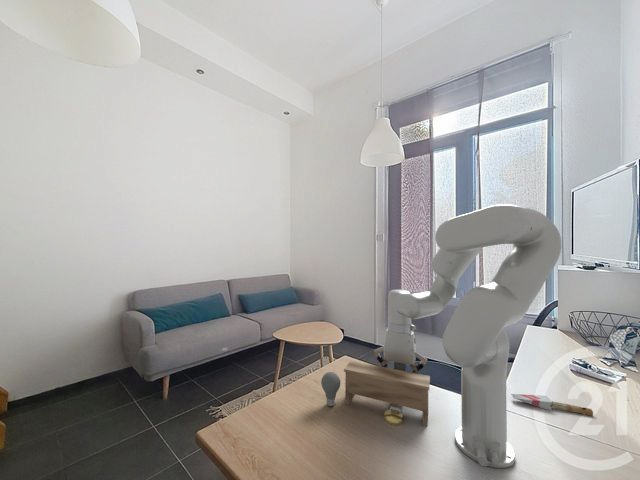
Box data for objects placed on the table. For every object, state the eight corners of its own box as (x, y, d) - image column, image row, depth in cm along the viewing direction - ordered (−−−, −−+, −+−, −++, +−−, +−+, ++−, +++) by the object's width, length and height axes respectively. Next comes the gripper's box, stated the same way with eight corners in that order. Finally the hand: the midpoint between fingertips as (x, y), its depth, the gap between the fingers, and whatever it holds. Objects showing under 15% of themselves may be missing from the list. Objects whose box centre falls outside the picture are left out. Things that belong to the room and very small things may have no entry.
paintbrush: (510, 388, 87) (588, 404, 80) (510, 396, 87) (587, 413, 80) (514, 394, 84) (596, 411, 77) (514, 403, 84) (595, 421, 77)
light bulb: (344, 405, 82) (344, 372, 82) (331, 413, 78) (331, 379, 78) (329, 397, 86) (329, 366, 87) (317, 405, 82) (317, 372, 82)
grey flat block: (401, 416, 77) (401, 367, 77) (389, 412, 78) (389, 365, 79) (406, 395, 88) (406, 353, 88) (395, 393, 89) (395, 351, 89)
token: (401, 428, 72) (401, 422, 72) (383, 423, 74) (383, 417, 74) (403, 417, 77) (403, 412, 77) (385, 413, 79) (386, 407, 79)
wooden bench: (429, 426, 72) (429, 387, 73) (343, 403, 83) (344, 369, 83) (430, 412, 79) (430, 376, 79) (350, 392, 89) (350, 360, 89)
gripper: (428, 327, 87) (428, 380, 87) (376, 321, 94) (376, 369, 94) (427, 334, 80) (427, 391, 80) (371, 326, 88) (371, 379, 87)
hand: (399, 379), depth 87 cm, fingers open, 8 cm apart
